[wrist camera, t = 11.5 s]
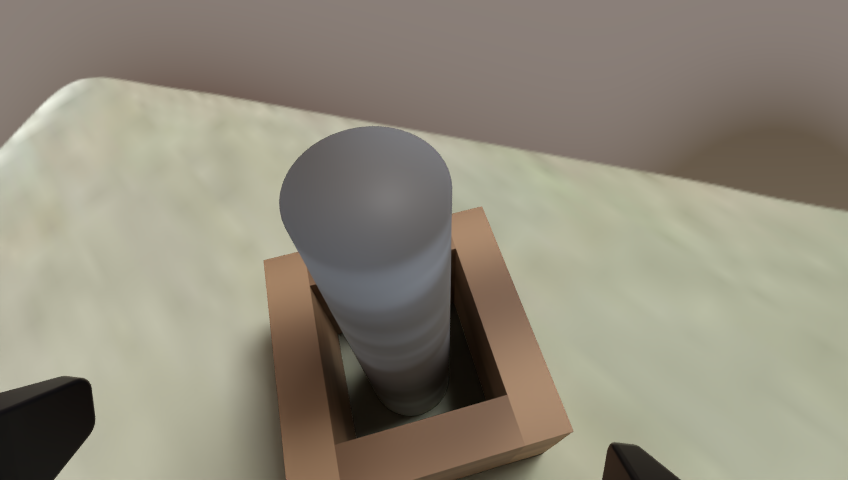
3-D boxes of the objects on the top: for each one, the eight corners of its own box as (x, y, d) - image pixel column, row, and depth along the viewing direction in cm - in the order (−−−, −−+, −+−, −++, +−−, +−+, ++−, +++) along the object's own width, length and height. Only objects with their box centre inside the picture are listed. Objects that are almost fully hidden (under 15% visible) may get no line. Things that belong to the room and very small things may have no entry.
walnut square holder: (543, 452, 18) (573, 431, 14) (328, 518, 17) (289, 517, 13) (475, 266, 22) (481, 206, 18) (300, 312, 22) (263, 260, 17)
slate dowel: (425, 430, 19) (392, 297, 8) (358, 390, 20) (242, 218, 9) (462, 361, 20) (481, 162, 9) (398, 326, 21) (344, 106, 10)
